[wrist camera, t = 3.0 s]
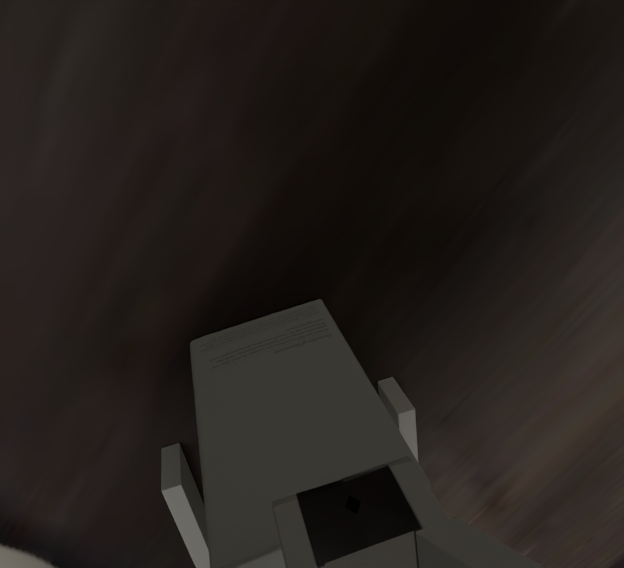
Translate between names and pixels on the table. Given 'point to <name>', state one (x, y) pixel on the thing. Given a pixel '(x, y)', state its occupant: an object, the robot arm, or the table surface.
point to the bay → (188, 501)
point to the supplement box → (280, 425)
